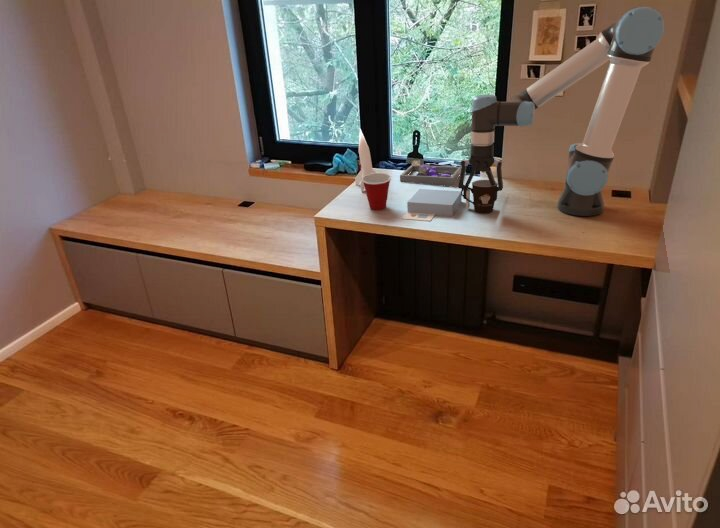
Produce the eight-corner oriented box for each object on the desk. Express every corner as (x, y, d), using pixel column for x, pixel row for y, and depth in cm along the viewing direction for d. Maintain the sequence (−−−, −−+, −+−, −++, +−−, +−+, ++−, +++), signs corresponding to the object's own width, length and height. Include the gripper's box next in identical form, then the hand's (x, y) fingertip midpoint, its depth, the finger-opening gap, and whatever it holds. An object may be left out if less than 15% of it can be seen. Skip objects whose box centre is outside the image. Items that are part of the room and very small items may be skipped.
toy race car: (450, 186, 213) (450, 170, 211) (415, 183, 219) (415, 168, 217) (456, 179, 221) (456, 164, 218) (422, 177, 227) (422, 162, 224)
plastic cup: (359, 213, 189) (357, 180, 184) (367, 203, 198) (365, 172, 193) (389, 214, 186) (388, 181, 181) (395, 204, 195) (394, 173, 190)
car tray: (461, 176, 224) (461, 167, 222) (452, 187, 210) (452, 178, 208) (411, 173, 232) (411, 165, 230) (400, 184, 218) (399, 175, 216)
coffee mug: (499, 208, 185) (501, 181, 180) (491, 216, 178) (492, 188, 174) (468, 204, 190) (469, 177, 186) (459, 211, 184) (459, 184, 180)
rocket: (356, 187, 216) (345, 128, 206) (377, 181, 218) (368, 123, 207) (361, 193, 208) (350, 132, 197) (384, 187, 209) (374, 127, 198)
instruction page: (435, 214, 183) (435, 213, 183) (430, 221, 177) (430, 220, 177) (408, 212, 186) (407, 211, 186) (402, 218, 181) (402, 218, 181)
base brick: (461, 201, 194) (461, 191, 192) (452, 216, 180) (452, 205, 179) (419, 198, 199) (419, 188, 198) (407, 212, 186) (407, 202, 184)
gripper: (515, 141, 174) (510, 207, 183) (454, 140, 181) (452, 203, 191) (512, 146, 168) (508, 214, 177) (449, 145, 175) (448, 209, 184)
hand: (479, 208), depth 184 cm, fingers closed on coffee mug, 8 cm apart
